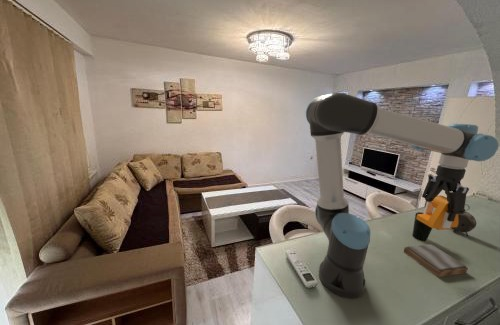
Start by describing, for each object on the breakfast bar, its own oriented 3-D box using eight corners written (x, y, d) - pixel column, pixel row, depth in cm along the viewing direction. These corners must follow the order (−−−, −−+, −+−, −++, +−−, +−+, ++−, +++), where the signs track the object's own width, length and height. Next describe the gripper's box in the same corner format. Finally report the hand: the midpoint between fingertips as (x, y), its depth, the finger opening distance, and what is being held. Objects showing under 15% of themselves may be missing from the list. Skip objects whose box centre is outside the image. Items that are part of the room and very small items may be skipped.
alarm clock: (472, 236, 104) (482, 207, 100) (468, 239, 101) (479, 209, 97) (444, 225, 113) (453, 199, 109) (440, 227, 111) (449, 200, 107)
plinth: (437, 276, 76) (439, 270, 75) (403, 251, 89) (405, 245, 89) (466, 273, 79) (468, 266, 78) (429, 249, 92) (431, 243, 91)
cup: (406, 234, 103) (412, 213, 100) (415, 232, 105) (422, 211, 102) (423, 244, 96) (430, 221, 93) (433, 241, 98) (440, 219, 95)
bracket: (437, 219, 85) (445, 192, 82) (456, 229, 78) (465, 200, 75) (414, 219, 84) (421, 193, 81) (431, 230, 77) (439, 201, 74)
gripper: (494, 175, 65) (472, 237, 71) (437, 160, 85) (423, 209, 90) (470, 174, 65) (450, 237, 71) (419, 159, 85) (407, 209, 90)
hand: (435, 221), depth 80 cm, fingers closed on bracket, 8 cm apart
